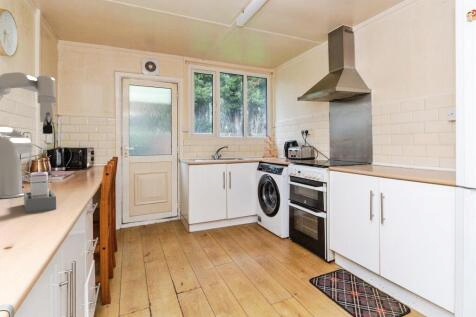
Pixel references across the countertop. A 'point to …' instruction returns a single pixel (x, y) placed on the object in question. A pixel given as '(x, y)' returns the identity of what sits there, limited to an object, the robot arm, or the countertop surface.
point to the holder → (39, 203)
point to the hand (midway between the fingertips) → (47, 133)
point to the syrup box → (39, 185)
